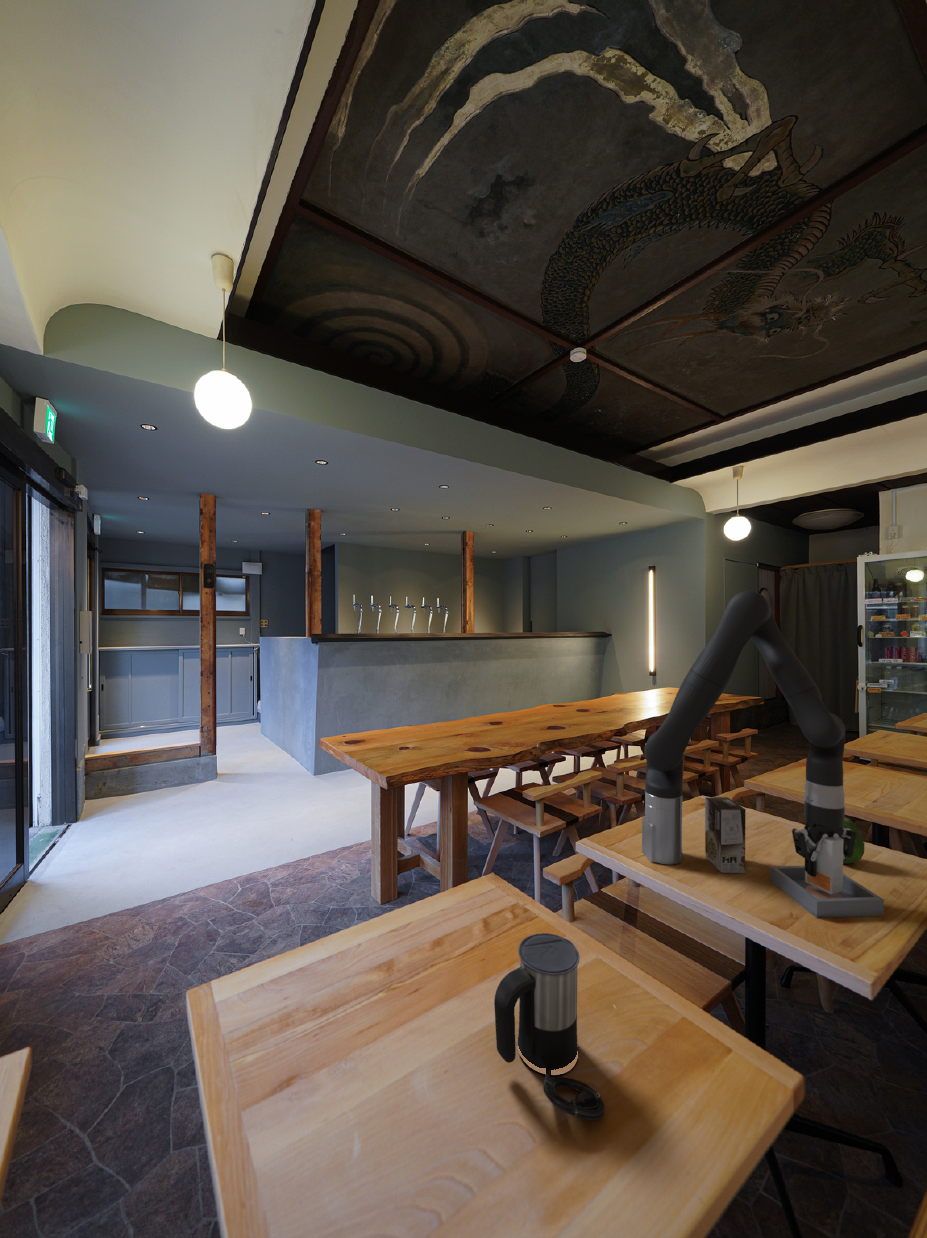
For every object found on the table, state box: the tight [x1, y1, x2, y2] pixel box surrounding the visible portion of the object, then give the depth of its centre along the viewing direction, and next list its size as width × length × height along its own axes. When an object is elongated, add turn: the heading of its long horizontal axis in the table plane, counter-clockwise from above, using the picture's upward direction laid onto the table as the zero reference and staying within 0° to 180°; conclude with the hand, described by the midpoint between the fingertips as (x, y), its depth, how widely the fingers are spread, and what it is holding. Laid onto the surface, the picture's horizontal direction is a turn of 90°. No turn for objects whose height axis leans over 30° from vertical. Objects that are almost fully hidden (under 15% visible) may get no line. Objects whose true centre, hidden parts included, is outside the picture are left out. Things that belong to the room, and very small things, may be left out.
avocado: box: [842, 816, 865, 865], centre depth 133 cm, size 8×8×12 cm
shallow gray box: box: [769, 865, 884, 919], centre depth 117 cm, size 15×15×4 cm
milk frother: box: [493, 932, 606, 1121], centre depth 72 cm, size 14×16×15 cm
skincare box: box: [805, 835, 844, 895], centre depth 116 cm, size 6×4×12 cm
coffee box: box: [704, 796, 747, 874], centre depth 132 cm, size 9×6×16 cm
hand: (823, 874), depth 117 cm, fingers closed on skincare box, 5 cm apart
